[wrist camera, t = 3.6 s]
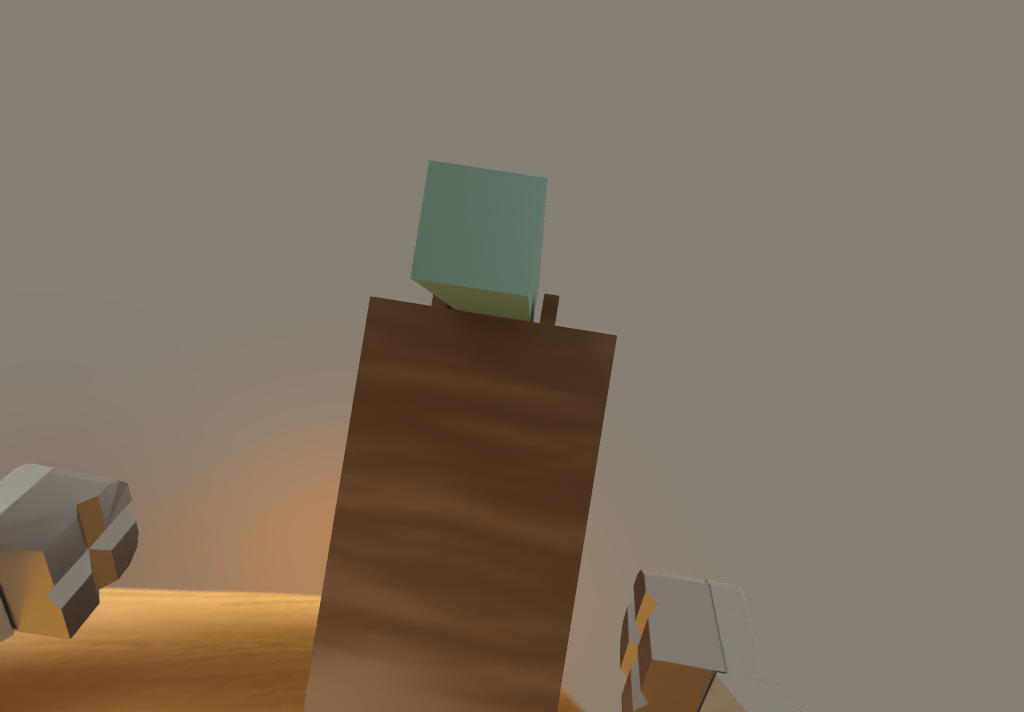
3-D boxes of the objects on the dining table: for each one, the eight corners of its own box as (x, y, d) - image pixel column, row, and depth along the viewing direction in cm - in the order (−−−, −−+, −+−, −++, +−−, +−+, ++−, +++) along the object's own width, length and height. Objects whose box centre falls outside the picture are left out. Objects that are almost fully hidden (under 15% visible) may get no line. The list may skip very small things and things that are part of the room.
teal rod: (528, 296, 17) (547, 178, 17) (410, 277, 17) (429, 160, 17) (530, 336, 41) (538, 287, 41) (482, 328, 41) (490, 280, 41)
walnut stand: (513, 985, 26) (621, 305, 26) (265, 938, 27) (375, 267, 27) (519, 769, 40) (591, 325, 40) (357, 740, 41) (429, 300, 41)
